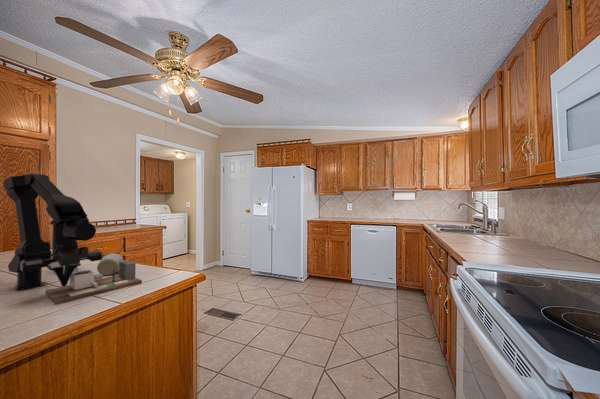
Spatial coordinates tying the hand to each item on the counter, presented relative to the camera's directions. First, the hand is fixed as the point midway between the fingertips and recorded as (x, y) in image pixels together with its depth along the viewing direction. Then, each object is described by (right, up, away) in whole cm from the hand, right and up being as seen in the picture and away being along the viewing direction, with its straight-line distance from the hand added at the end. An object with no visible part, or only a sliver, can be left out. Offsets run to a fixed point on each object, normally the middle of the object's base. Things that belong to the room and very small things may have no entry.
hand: (63, 286), depth 79 cm
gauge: (+5, -1, +4) cm, 6 cm away
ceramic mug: (-1, -3, +23) cm, 23 cm away
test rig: (+6, -3, +5) cm, 9 cm away
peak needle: (+12, -1, +6) cm, 13 cm away
